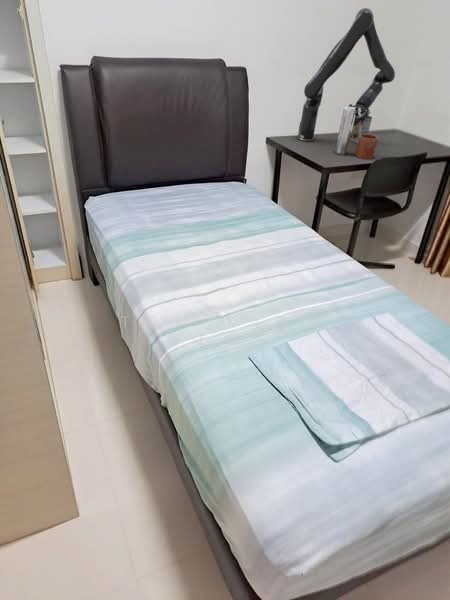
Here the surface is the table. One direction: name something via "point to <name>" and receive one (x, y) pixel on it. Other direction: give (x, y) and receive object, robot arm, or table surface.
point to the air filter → (345, 130)
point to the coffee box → (360, 128)
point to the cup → (366, 146)
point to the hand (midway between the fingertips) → (348, 122)
